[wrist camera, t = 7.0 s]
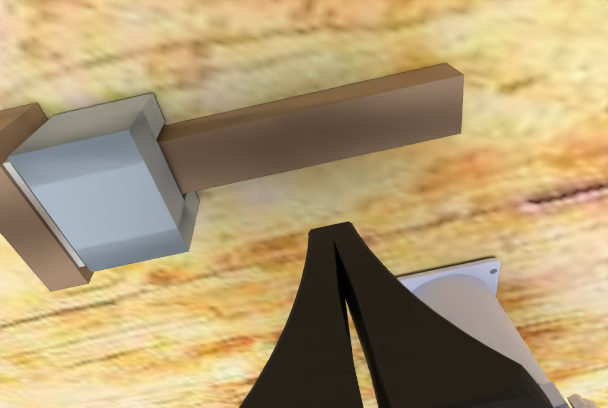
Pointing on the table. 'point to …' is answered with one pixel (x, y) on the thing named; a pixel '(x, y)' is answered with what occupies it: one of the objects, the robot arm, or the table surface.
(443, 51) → the table surface
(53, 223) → the brown piece
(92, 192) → the slider
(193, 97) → the table surface
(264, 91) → the table surface
